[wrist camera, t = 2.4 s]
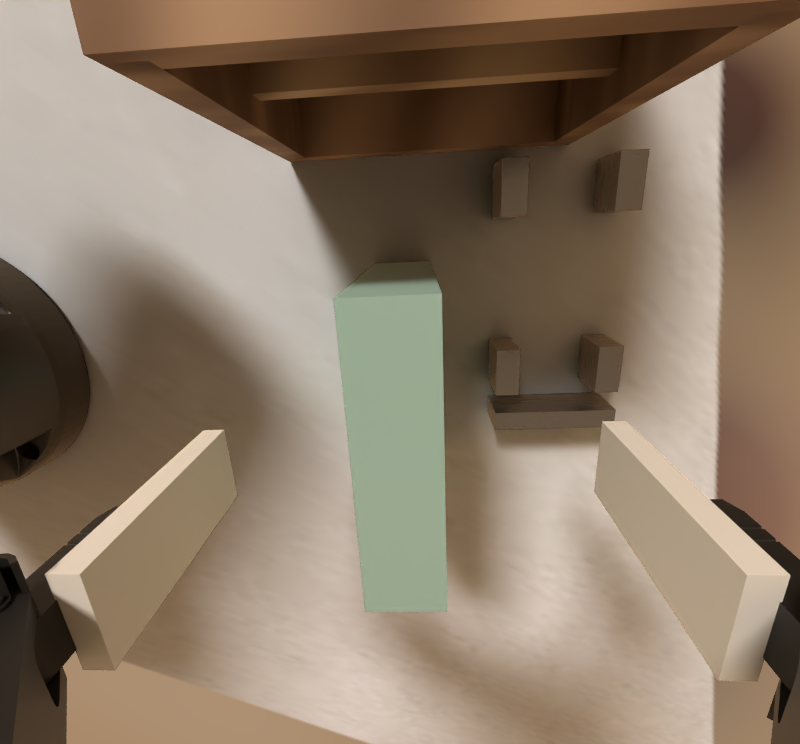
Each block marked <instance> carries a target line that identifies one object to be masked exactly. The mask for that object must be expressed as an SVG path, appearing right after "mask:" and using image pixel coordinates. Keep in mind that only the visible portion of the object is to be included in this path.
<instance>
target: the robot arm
mask: <svg viewBox="0 0 800 744" xmlns="http://www.w3.org/2000/svg"><path fill="white" fill-rule="evenodd" d="M88 406H89V380H88V373H87V368H86V364H85V361H84V358H83V355H82V352H81V349H80V347H79V344H78V342H77V340H76V338H75V336H74V334H73V332H72V330H71V329H70V327H69V325H68V323H67V322H66V320H65V319H64V317H63V316H62V314H61V313H60V312H59V310H58V309H57V308H56V306H55V305H54V304H53V303H52V302H51V300H50V299H49V298H48V297H47V296H46V295H45V294H44V293H43V292H42V290H41V289H40V288H39V287H37V286H36V285H35V284H34V283H33V282H32V281H31V280H30V279H29V278H27V277H26V276H25V275H24V274H23V273H21V272H20V271H19V270H17V269H16V268H15V267H13V266H12V265H10V264H9V263H7V262H6V261H4V260H3V259H1V258H0V486H2V485H5V484H9V483H11V482H14V481H16V480H18V479H21V478H23V477H25V476H27V475H29V474H31V473H32V472H34V471H35V470H37V469H38V468H40V467H42V466H43V465H45V464H46V463H48V462H50V461H51V460H53V459H54V458H56V457H57V456H59V455H60V454H62V453H63V452H64V451H65V450H66V449H67V448H68V447H69V446H70V445H71V444H72V443H73V442H74V441H75V439H76V438H77V436H78V435H79V433H80V431H81V429H82V427H83V425H84V422H85V419H86V416H87V412H88ZM594 492H595V493H596V495H597V497H598V498H599V500H600V501H601V503H602V504H603V506H604V507H605V509H606V510H607V512H608V513H609V515H610V516H611V518H612V519H613V521H614V522H615V524H616V525H617V527H618V528H619V530H620V532H621V533H622V535H623V536H624V538H625V539H626V541H627V542H628V544H629V545H630V547H631V548H632V550H633V551H634V553H635V554H636V556H637V557H638V559H639V560H640V562H641V563H642V565H643V567H644V568H645V570H646V571H647V573H648V574H649V576H650V577H651V579H652V580H653V582H654V583H655V585H656V586H657V588H658V589H659V591H660V592H661V594H662V595H663V597H664V598H665V600H666V602H667V603H668V605H669V606H670V608H671V609H672V611H673V612H674V614H675V615H676V617H677V618H678V620H679V621H680V623H681V624H682V626H683V627H684V629H685V630H686V632H687V633H688V635H689V637H690V638H691V640H692V641H693V643H694V644H695V646H696V647H697V649H698V650H699V652H700V653H701V655H702V656H703V658H704V659H705V661H706V662H707V664H708V665H709V667H710V668H711V670H712V672H713V673H714V675H715V676H716V678H717V679H718V680H719V681H758V678H759V675H760V672H761V668H762V665H763V662H764V659H765V661H766V662H767V663H768V664H769V666H770V667H771V668H772V669H773V671H774V672H775V673H776V674H777V676H778V677H779V678H780V680H779V683H778V686H777V690H776V692H775V695H774V698H773V701H772V704H771V707H770V710H769V713H768V716H767V718H769V719H771V720H773V728H772V738H771V744H800V560H799V559H798V558H797V557H796V556H795V555H794V554H792V553H791V552H790V551H789V550H788V549H787V548H785V547H784V546H783V545H782V544H781V543H780V542H776V540H775V538H774V537H773V536H772V535H771V534H769V533H768V532H767V531H766V530H765V529H762V528H761V526H760V525H759V524H758V523H757V522H755V520H753V519H752V518H751V517H750V516H749V515H748V514H747V513H745V512H744V511H742V510H740V509H739V508H737V507H735V506H733V505H731V504H730V503H727V502H726V501H724V500H722V499H711V500H710V499H709V498H707V497H706V496H705V495H704V494H703V493H702V492H701V491H700V490H699V489H698V488H697V487H696V486H695V485H694V484H693V483H691V482H690V481H689V480H688V479H687V478H686V477H685V476H684V475H683V474H682V473H681V472H680V471H679V470H678V469H677V468H675V467H674V466H673V465H672V464H671V463H670V462H669V461H668V460H667V459H666V458H665V457H664V456H663V455H662V454H661V453H659V452H658V451H657V450H656V449H655V448H654V447H653V446H652V445H651V444H650V443H649V442H648V441H647V440H646V439H645V438H643V437H642V436H641V435H640V434H639V433H638V432H637V431H636V430H635V429H634V428H633V427H632V426H631V425H630V424H629V423H627V422H626V421H602V428H601V436H600V445H599V454H598V462H597V471H596V480H595V489H594ZM237 496H238V495H237V490H236V485H235V480H234V475H233V470H232V465H231V460H230V455H229V450H228V445H227V440H226V436H225V431H224V430H203V431H202V432H201V433H200V434H199V435H198V436H197V437H195V438H194V439H193V440H192V441H191V442H190V443H189V444H188V445H187V446H186V447H184V448H183V449H182V450H181V451H180V452H179V453H178V454H177V455H176V456H174V457H173V458H172V459H171V460H170V461H169V462H168V463H167V464H166V465H165V466H163V467H162V468H161V469H160V470H159V471H158V472H157V473H156V474H155V475H154V476H152V477H151V478H150V479H149V480H148V481H147V482H146V483H145V484H144V485H143V486H141V487H140V488H139V489H138V490H137V491H136V492H135V493H134V494H133V495H132V496H130V497H129V498H128V499H127V500H126V501H125V502H124V503H123V504H122V505H120V506H119V507H114V508H112V509H111V510H109V511H107V512H105V513H104V514H102V515H100V516H99V517H97V518H95V519H94V520H93V521H92V522H91V523H90V524H89V525H87V526H86V527H85V528H84V529H83V530H82V531H81V532H80V534H77V535H76V536H75V537H74V538H73V539H71V540H70V541H69V542H68V545H67V546H63V547H62V548H61V549H60V550H59V551H58V552H57V553H55V554H54V555H53V556H52V557H51V558H50V559H49V560H48V561H46V562H45V563H44V564H43V565H42V566H41V567H40V568H38V569H37V570H36V571H35V572H34V573H33V574H32V575H30V576H29V577H28V578H27V579H26V580H25V577H24V575H23V573H22V570H21V568H20V566H19V563H18V561H17V559H16V556H14V555H11V554H8V553H7V554H0V744H66V715H67V713H66V711H67V710H66V709H67V705H66V704H67V677H66V675H65V672H64V669H63V667H62V666H63V665H64V664H65V663H66V661H67V660H68V659H69V658H70V656H71V655H72V654H73V653H74V652H75V651H76V653H77V655H78V658H79V660H80V663H81V665H82V668H83V670H115V669H116V668H117V667H118V665H119V664H120V663H121V661H122V660H123V658H124V657H125V655H126V654H127V653H128V651H129V650H130V648H131V647H132V645H133V644H134V643H135V641H136V640H137V638H138V637H139V635H140V634H141V633H142V631H143V630H144V628H145V627H146V626H147V624H148V623H149V621H150V620H151V618H152V617H153V616H154V614H155V613H156V611H157V610H158V608H159V607H160V606H161V604H162V603H163V601H164V600H165V598H166V597H167V596H168V594H169V593H170V591H171V590H172V588H173V587H174V586H175V584H176V583H177V581H178V580H179V578H180V577H181V576H182V574H183V573H184V571H185V570H186V568H187V567H188V566H189V564H190V563H191V561H192V560H193V558H194V557H195V556H196V554H197V553H198V551H199V550H200V548H201V547H202V546H203V544H204V543H205V541H206V540H207V538H208V537H209V536H210V534H211V533H212V531H213V530H214V528H215V527H216V526H217V524H218V523H219V521H220V520H221V518H222V517H223V516H224V514H225V513H226V511H227V510H228V509H229V507H230V506H231V504H232V503H233V501H234V500H235V499H236V497H237Z"/></svg>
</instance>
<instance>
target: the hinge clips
mask: <svg viewBox="0 0 800 744" xmlns="http://www.w3.org/2000/svg"><path fill="white" fill-rule="evenodd" d="M648 156H649V149H640V150H624V151H619V152H617V153H614V154H611V155H609V156H606V157H603V158H601V159H598V167H597V178H596V188H595V199H594V210H593V213H602V212H620V211H632V210H642V202H643V195H644V187H645V179H646V172H647V164H648ZM529 158H530V156H525V157H509V158H502V159H500V160H499V161H498V162H497V163H496V164H494V165H493V182H492V218H509V217H521V216H527V201H528V179H529ZM623 349H624V346H623V345H621V344H619V343H617V342H616V341H614V340H612V339H611V338H609V337H607V336H605V335H604V334H599V335H582V337H581V347H580V358H579V368H578V377H579V378H580V379H581V380H582V381H583V382H584V383H585V384H586V385H587V386H588V387H590V388H591V389H592V390H593V391H594V392H596V393H564V394H531V395H519V375H520V353H521V350H520V349H519V347H518V346H517V345H516V344H515V343H514V342H513V340H512V339H511V338H494V339H489V378H488V380H489V382H490V384H491V386H492V388H493V390H494V392H495V394H496V395H499V396H488V413H489V415H490V418H491V421H492V423H493V426H494V428H495V430H505V429H542V428H579V427H602V421H614V419H615V411H616V410H615V409H614V408H613V407H612V406H611V405H610V404H609V403H608V402H607V401H606V400H604V399H603V398H602V397H601V396H600V395H599V394H598V393H597V392H618V388H619V380H620V372H621V365H622V357H623Z"/></svg>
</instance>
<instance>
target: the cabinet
mask: <svg viewBox="0 0 800 744" xmlns="http://www.w3.org/2000/svg"><path fill="white" fill-rule="evenodd" d="M70 3H71V7H72V11H73V15H74V19H75V23H76V27H77V31H78V35H79V39H80V43H81V47H82V51H83V55H85V56H87V57H89V58H91V59H93V60H95V61H97V62H99V63H100V64H102V65H104V66H106V67H108V68H110V69H112V70H114V71H116V72H118V73H120V74H122V75H124V76H126V77H128V78H129V79H131V80H133V81H135V82H137V83H139V84H141V85H143V86H145V87H147V88H149V89H151V90H153V91H155V92H156V93H158V94H160V95H162V96H164V97H166V98H168V99H170V100H172V101H174V102H176V103H178V104H180V105H182V106H183V107H185V108H187V109H189V110H191V111H193V112H195V113H197V114H199V115H201V116H203V117H205V118H207V119H209V120H211V121H212V122H214V123H216V124H218V125H220V126H222V127H224V128H226V129H228V130H230V131H232V132H234V133H236V134H238V135H239V136H241V137H243V138H245V139H247V140H249V141H251V142H253V143H255V144H257V145H259V146H261V147H263V148H265V149H266V150H268V151H270V152H272V153H274V154H276V155H278V156H280V157H282V158H284V159H286V160H288V161H290V162H293V161H310V160H326V159H342V158H358V157H374V156H390V155H406V154H422V153H438V152H454V151H471V150H487V149H503V148H519V147H535V146H551V145H567V144H570V143H572V142H574V141H576V140H578V139H580V138H581V137H583V136H585V135H587V134H589V133H590V132H592V131H594V130H596V129H598V128H600V127H601V126H603V125H605V124H607V123H609V122H611V121H612V120H614V119H616V118H618V117H620V116H621V115H623V114H625V113H627V112H629V111H631V110H632V109H634V108H636V107H638V106H640V105H642V104H643V103H645V102H647V101H649V100H651V99H652V98H654V97H656V96H658V95H660V94H662V93H663V92H665V91H667V90H669V89H671V88H673V87H674V86H676V85H678V84H680V83H682V82H683V81H685V80H687V79H689V78H691V77H693V76H694V75H696V74H698V73H700V72H702V71H704V70H705V69H707V68H709V67H711V66H713V65H714V64H716V63H718V62H720V61H722V60H724V59H725V58H727V57H729V56H731V55H733V54H735V53H736V52H738V51H740V50H741V49H744V48H745V47H747V46H749V45H751V44H753V43H754V42H756V41H758V40H760V39H762V38H764V37H766V36H767V35H769V34H771V33H773V32H775V31H776V30H778V29H780V28H782V27H784V26H786V25H787V24H789V23H791V22H793V21H795V20H797V19H798V18H800V0H70Z"/></svg>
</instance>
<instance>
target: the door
mask: <svg viewBox="0 0 800 744" xmlns="http://www.w3.org/2000/svg"><path fill="white" fill-rule="evenodd" d="M334 308H335V318H336V328H337V338H338V347H339V357H340V367H341V377H342V387H343V397H344V407H345V416H346V426H347V436H348V446H349V456H350V466H351V475H352V485H353V495H354V505H355V515H356V525H357V535H358V544H359V554H360V564H361V574H362V584H363V594H364V604H365V612H447V563H446V505H445V446H444V387H443V328H442V293H441V290H440V287H439V284H438V282H437V279H436V276H435V274H434V271H433V268H432V266H431V263H430V261H414V262H393V263H375V264H374V265H372V266H371V267H370V268H369V269H368V270H367V271H365V272H364V273H363V274H362V275H361V276H359V277H358V278H357V279H356V280H355V281H354V282H352V283H351V284H350V285H349V286H348V287H346V288H345V289H344V290H343V291H342V292H341V293H339V294H338V295H337V296H336V297H335V298H334Z"/></svg>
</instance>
